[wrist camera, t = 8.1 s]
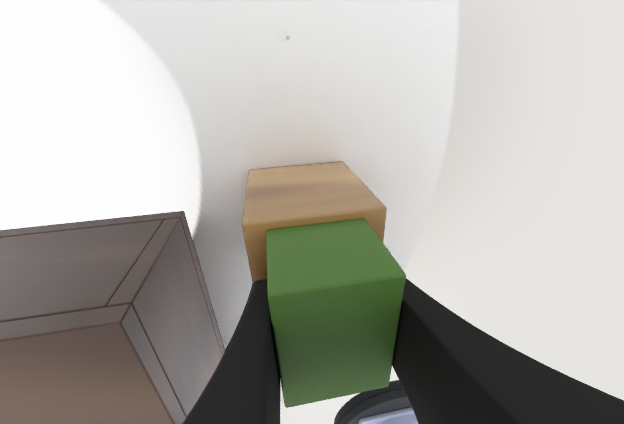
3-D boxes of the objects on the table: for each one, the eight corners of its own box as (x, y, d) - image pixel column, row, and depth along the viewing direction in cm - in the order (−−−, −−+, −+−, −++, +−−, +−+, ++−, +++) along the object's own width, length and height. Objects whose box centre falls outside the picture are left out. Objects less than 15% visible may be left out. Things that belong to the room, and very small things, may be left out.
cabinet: (226, 356, 20) (210, 492, 14) (74, 383, 19) (-26, 548, 12) (184, 210, 15) (119, 322, 8) (-39, 234, 13) (-341, 393, 7)
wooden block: (341, 244, 18) (376, 316, 12) (262, 254, 17) (262, 335, 12) (343, 161, 15) (387, 207, 10) (248, 169, 14) (241, 224, 9)
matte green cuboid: (359, 314, 12) (389, 387, 9) (279, 328, 12) (285, 409, 9) (365, 217, 10) (407, 274, 7) (265, 229, 9) (267, 295, 6)
